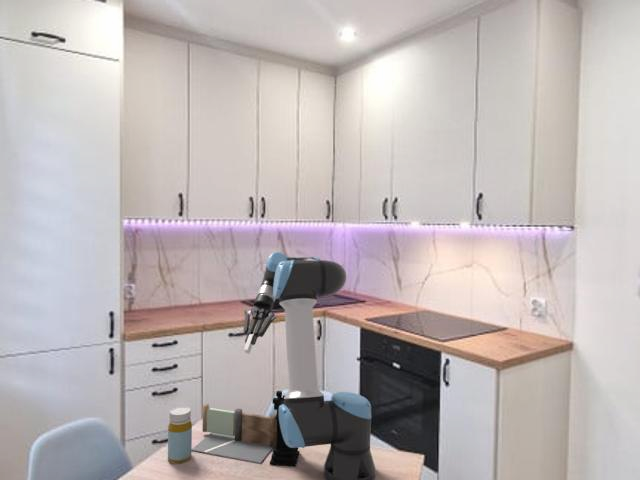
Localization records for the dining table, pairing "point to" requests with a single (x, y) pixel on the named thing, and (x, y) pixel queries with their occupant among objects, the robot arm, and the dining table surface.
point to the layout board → (232, 448)
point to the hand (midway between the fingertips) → (246, 351)
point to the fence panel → (218, 421)
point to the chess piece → (282, 441)
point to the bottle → (179, 435)
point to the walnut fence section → (255, 428)
